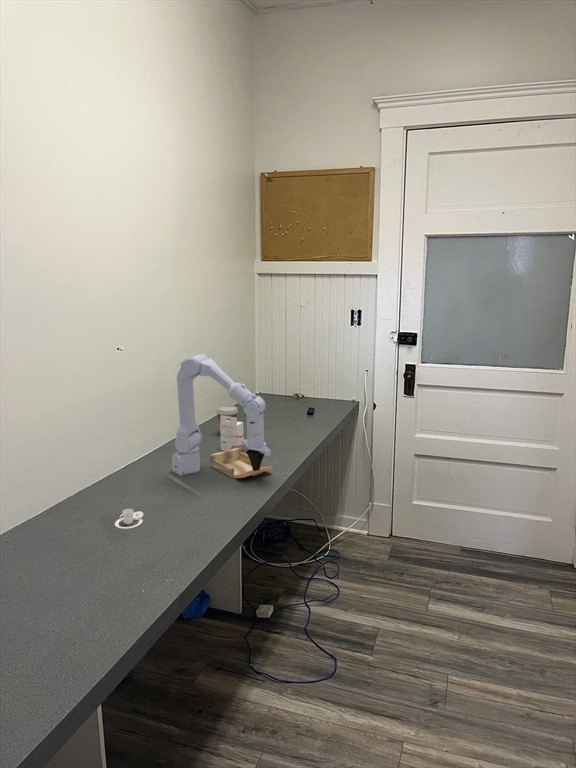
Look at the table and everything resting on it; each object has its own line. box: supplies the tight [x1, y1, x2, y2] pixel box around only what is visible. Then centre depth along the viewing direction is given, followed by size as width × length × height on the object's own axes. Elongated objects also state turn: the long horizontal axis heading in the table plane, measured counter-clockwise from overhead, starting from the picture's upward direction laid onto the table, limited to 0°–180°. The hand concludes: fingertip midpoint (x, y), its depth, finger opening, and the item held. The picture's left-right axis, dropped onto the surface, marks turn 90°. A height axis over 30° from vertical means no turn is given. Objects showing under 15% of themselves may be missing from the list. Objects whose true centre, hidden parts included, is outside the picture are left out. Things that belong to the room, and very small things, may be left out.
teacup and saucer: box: [114, 508, 144, 530], centre depth 166 cm, size 9×8×4 cm
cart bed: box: [209, 447, 263, 478], centre depth 205 cm, size 13×14×6 cm
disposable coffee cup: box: [216, 405, 239, 425], centre depth 248 cm, size 10×10×12 cm
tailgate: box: [233, 465, 273, 479], centre depth 197 cm, size 13×2×6 cm
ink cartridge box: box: [219, 415, 245, 452], centre depth 227 cm, size 9×5×15 cm, turn 62°
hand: (256, 470), depth 195 cm, fingers closed
